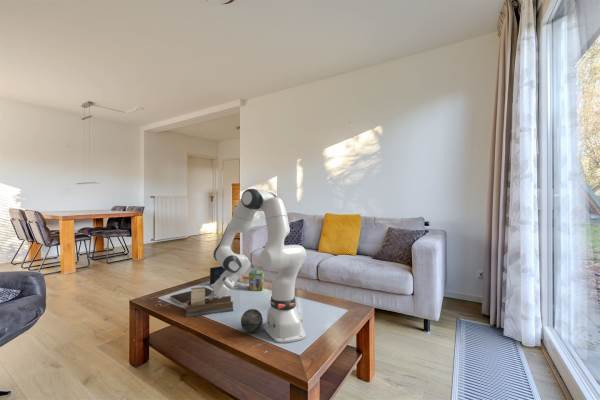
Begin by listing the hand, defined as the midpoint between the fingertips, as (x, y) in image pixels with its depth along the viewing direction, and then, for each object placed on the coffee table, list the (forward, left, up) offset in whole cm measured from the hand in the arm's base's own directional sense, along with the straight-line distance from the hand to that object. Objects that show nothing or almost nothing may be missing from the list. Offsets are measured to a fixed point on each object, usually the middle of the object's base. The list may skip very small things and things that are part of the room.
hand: (209, 298), depth 151 cm
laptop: (+40, -13, -6) cm, 42 cm away
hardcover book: (+22, +8, -6) cm, 24 cm away
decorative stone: (-34, -17, -6) cm, 38 cm away
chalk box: (+26, -32, -6) cm, 42 cm away
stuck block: (0, +6, -4) cm, 7 cm away
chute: (0, 0, -6) cm, 6 cm away
